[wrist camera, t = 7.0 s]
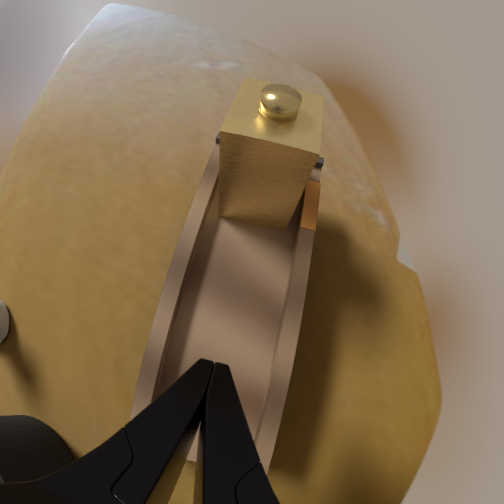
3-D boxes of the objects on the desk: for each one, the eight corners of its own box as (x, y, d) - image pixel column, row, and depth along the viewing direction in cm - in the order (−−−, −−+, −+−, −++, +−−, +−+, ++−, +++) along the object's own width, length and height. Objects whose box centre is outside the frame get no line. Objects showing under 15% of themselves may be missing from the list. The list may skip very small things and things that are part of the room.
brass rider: (284, 232, 19) (326, 139, 11) (218, 216, 19) (220, 114, 11) (293, 176, 21) (328, 83, 13) (236, 163, 21) (246, 63, 13)
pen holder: (53, 401, 16) (-29, 407, 7) (104, 498, 13) (50, 551, 4) (-6, 417, 14) (-77, 419, 4) (36, 503, 11) (-21, 532, 2)
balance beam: (260, 455, 17) (273, 485, 11) (141, 427, 17) (114, 446, 11) (308, 199, 25) (328, 159, 20) (213, 177, 25) (213, 132, 20)
